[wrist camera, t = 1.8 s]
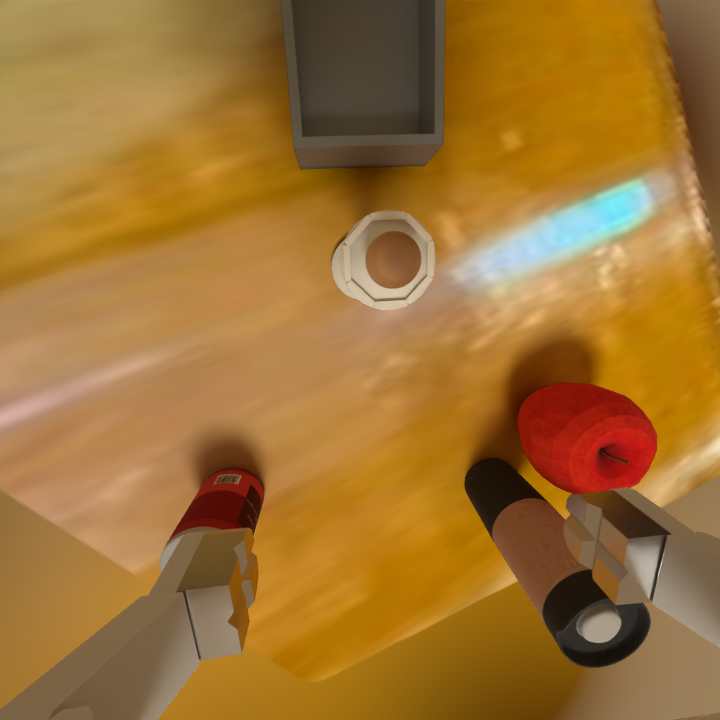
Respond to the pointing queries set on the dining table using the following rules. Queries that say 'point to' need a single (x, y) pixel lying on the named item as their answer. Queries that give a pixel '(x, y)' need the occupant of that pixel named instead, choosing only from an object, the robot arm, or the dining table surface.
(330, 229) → the dining table surface
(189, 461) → the dining table surface
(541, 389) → the apple
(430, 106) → the tray
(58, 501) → the dining table surface
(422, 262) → the pedestal dish
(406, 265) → the ball
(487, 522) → the travel mug
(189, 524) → the canned food
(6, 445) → the dining table surface
